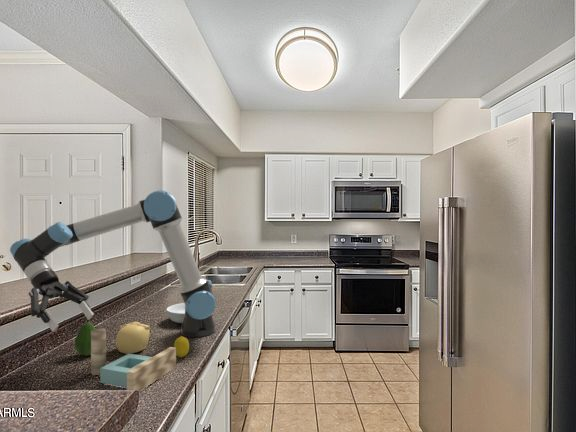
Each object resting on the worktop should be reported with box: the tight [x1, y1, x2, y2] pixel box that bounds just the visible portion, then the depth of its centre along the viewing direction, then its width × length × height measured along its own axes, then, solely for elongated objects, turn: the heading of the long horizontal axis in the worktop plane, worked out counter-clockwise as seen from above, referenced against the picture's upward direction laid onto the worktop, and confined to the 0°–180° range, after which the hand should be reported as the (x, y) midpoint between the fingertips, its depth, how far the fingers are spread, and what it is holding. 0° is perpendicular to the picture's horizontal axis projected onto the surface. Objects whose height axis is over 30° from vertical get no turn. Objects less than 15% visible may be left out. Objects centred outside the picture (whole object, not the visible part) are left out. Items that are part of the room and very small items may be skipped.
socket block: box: [99, 353, 153, 388], centre depth 114 cm, size 12×12×5 cm
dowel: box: [90, 328, 107, 376], centre depth 118 cm, size 4×4×14 cm
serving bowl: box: [166, 302, 185, 324], centre depth 174 cm, size 21×21×7 cm
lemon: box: [173, 335, 190, 359], centre depth 130 cm, size 6×6×8 cm
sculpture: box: [115, 321, 151, 355], centre depth 137 cm, size 12×12×11 cm
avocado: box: [74, 322, 96, 357], centre depth 133 cm, size 8×8×12 cm
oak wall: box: [126, 346, 177, 393], centre depth 112 cm, size 20×2×7 cm, turn 162°
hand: (74, 322), depth 121 cm, fingers open, 13 cm apart
